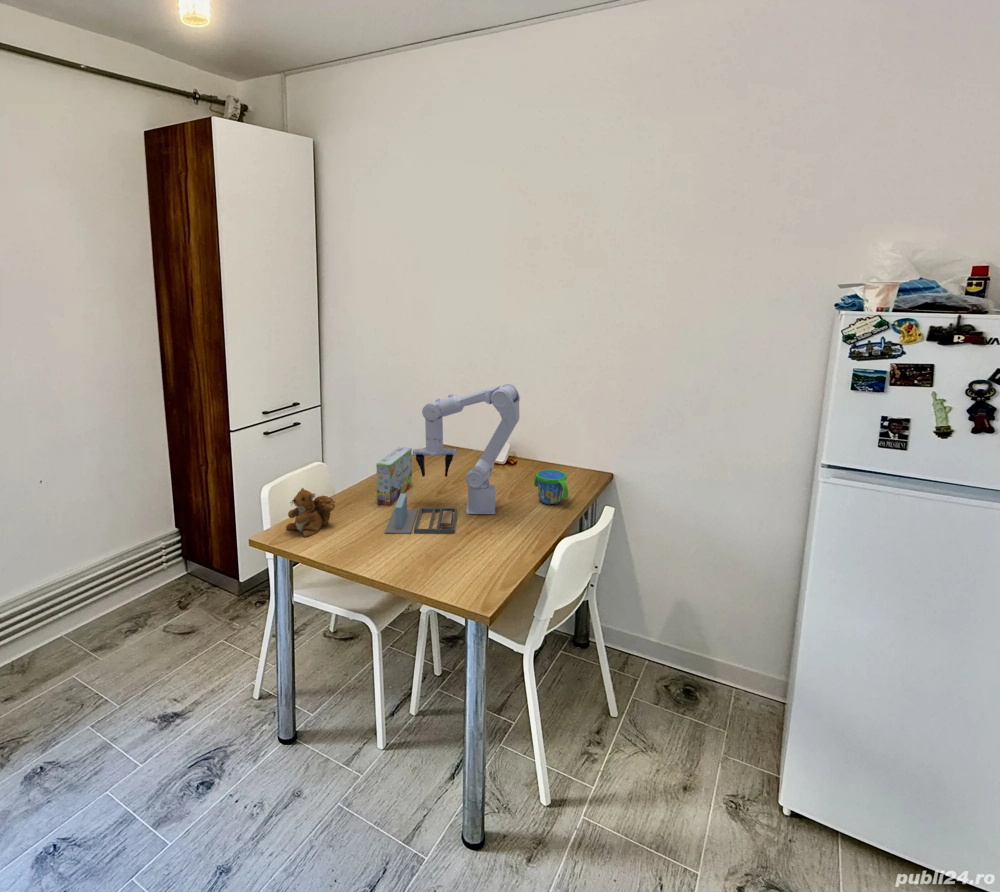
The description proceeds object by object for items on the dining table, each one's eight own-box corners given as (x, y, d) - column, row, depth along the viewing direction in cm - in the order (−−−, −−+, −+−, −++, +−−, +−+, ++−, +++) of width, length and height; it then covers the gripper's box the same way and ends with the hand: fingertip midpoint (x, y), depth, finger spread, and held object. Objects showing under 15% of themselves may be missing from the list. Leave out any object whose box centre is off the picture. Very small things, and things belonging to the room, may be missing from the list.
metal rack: (457, 511, 199) (457, 508, 198) (454, 533, 182) (454, 530, 182) (420, 511, 198) (420, 507, 198) (413, 533, 182) (413, 529, 181)
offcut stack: (452, 514, 196) (452, 509, 196) (450, 529, 185) (450, 523, 184) (443, 514, 196) (443, 508, 195) (441, 529, 185) (440, 523, 184)
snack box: (392, 506, 202) (390, 464, 198) (376, 504, 203) (374, 463, 199) (413, 485, 222) (412, 446, 218) (399, 484, 223) (397, 445, 219)
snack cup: (575, 506, 205) (577, 478, 202) (550, 512, 200) (551, 483, 197) (550, 492, 218) (551, 465, 215) (525, 496, 212) (526, 470, 210)
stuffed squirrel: (283, 530, 183) (279, 490, 179) (323, 517, 193) (321, 478, 189) (300, 539, 176) (296, 498, 173) (341, 525, 186) (338, 486, 183)
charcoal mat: (417, 510, 199) (417, 509, 199) (410, 533, 181) (410, 532, 181) (393, 510, 199) (393, 509, 198) (384, 533, 181) (384, 532, 181)
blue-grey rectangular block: (407, 513, 196) (406, 493, 194) (402, 528, 184) (401, 507, 182) (401, 513, 196) (400, 493, 194) (395, 528, 184) (395, 507, 182)
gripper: (411, 440, 194) (412, 479, 198) (455, 440, 194) (455, 479, 198) (413, 434, 201) (414, 472, 204) (456, 435, 201) (456, 472, 205)
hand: (434, 475), depth 202 cm, fingers open, 7 cm apart
